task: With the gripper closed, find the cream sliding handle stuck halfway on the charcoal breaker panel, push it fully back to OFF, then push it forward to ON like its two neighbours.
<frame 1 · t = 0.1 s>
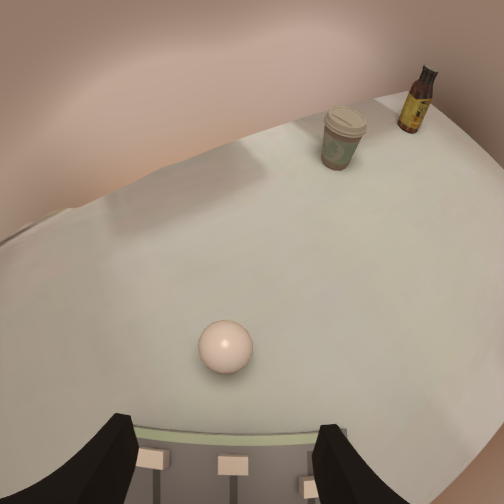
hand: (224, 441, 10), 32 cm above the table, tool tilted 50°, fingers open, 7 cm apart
coffee cup: (334, 161, 65), on the table
breaker panel: (233, 484, 34), on the table
sauce bottle: (407, 127, 76), on the table
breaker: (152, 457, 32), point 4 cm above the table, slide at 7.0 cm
lightbulb: (227, 361, 43), on the table
breaker middle: (233, 464, 32), point 4 cm above the table, slide at 7.0 cm
tripped breaker: (314, 486, 31), point 4 cm above the table, slide at 3.5 cm
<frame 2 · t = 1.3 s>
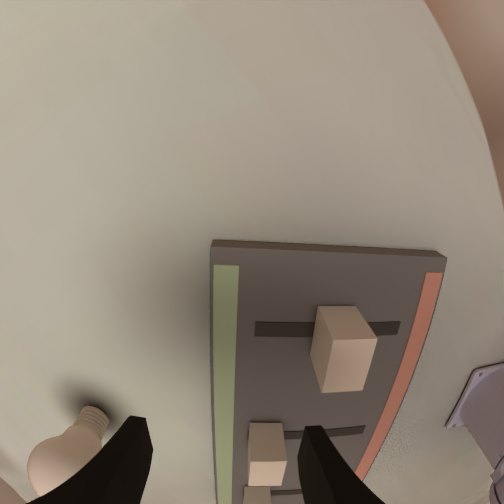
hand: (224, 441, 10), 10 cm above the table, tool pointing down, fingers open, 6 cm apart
breaker panel: (305, 421, 24), on the table
lightbulb: (98, 410, 23), on the table
breaker middle: (265, 455, 20), point 4 cm above the table, slide at 7.0 cm
tripped breaker: (340, 347, 17), point 4 cm above the table, slide at 3.5 cm
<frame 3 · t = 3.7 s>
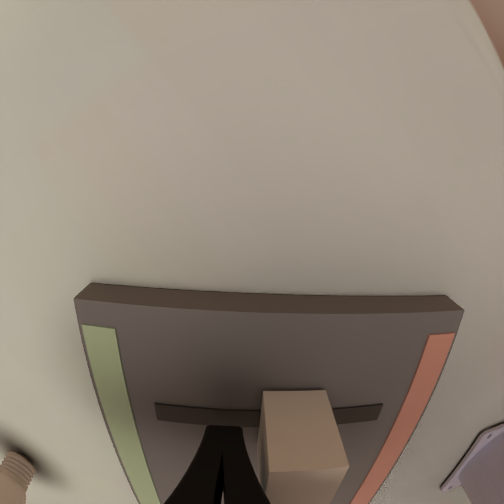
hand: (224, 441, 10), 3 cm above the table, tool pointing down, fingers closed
breaker panel: (255, 497, 16), on the table
lightbulb: (25, 455, 16), on the table
tripped breaker: (294, 455, 10), point 4 cm above the table, slide at 2.8 cm, touching gripper
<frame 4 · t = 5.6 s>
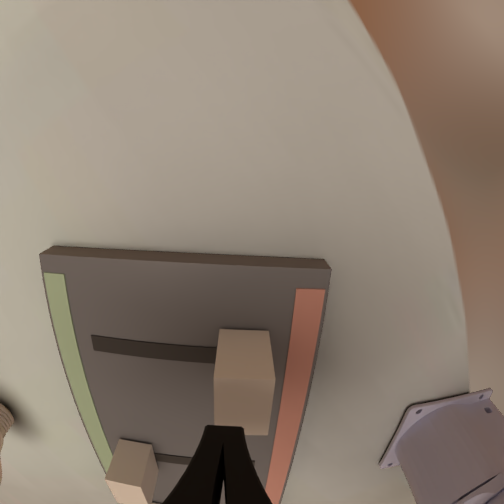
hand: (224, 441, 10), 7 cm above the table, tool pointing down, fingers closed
breaker panel: (189, 445, 20), on the table
lightbulb: (7, 407, 20), on the table
breaker middle: (134, 475, 17), point 4 cm above the table, slide at 7.0 cm
tripped breaker: (242, 381, 14), point 4 cm above the table, slide at -0.1 cm
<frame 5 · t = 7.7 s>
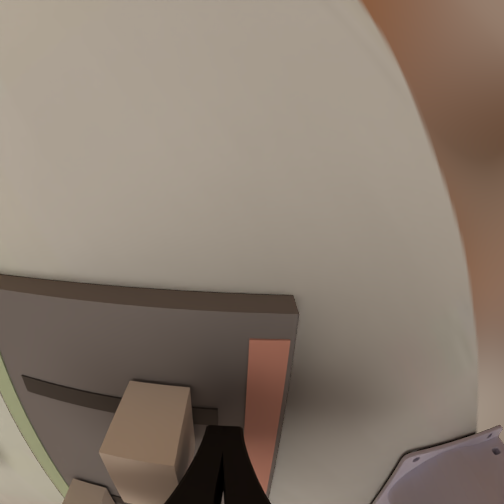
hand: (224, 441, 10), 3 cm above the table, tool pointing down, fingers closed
breaker panel: (150, 488, 16), on the table
tripped breaker: (155, 448, 10), point 4 cm above the table, slide at 0.9 cm, touching gripper
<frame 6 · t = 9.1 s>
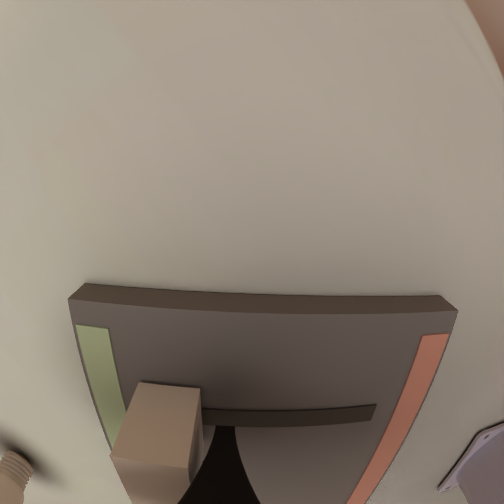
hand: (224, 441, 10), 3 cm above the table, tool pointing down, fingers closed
breaker panel: (251, 496, 16), on the table
lightbulb: (23, 455, 16), on the table
tripped breaker: (165, 450, 10), point 4 cm above the table, slide at 7.3 cm, touching gripper
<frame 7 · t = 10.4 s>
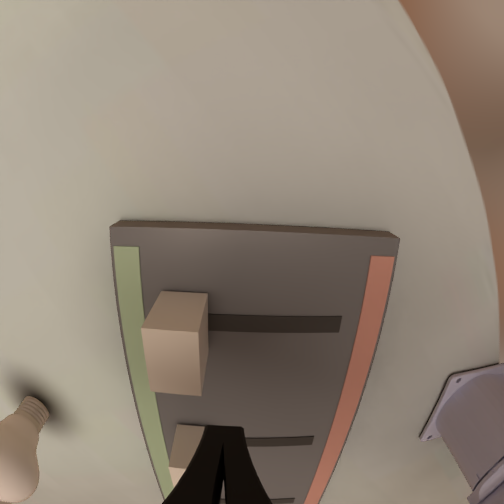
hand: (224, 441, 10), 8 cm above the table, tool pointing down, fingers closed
breaker panel: (245, 426, 21), on the table
lightbulb: (40, 401, 21), on the table
breaker middle: (193, 461, 18), point 4 cm above the table, slide at 7.0 cm
tripped breaker: (179, 341, 15), point 4 cm above the table, slide at 7.1 cm
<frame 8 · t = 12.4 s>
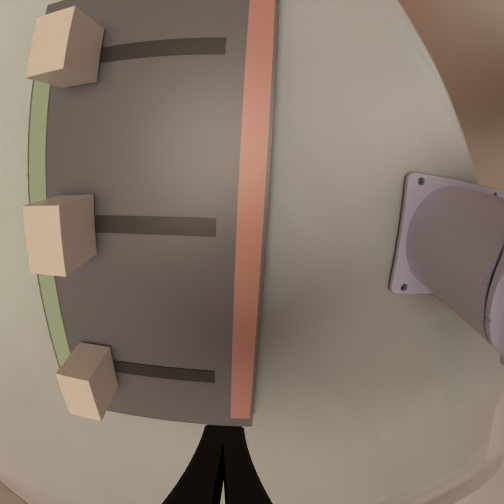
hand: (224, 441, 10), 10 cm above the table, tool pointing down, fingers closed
breaker panel: (139, 219, 18), on the table
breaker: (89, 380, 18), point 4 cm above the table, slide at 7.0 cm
breaker middle: (61, 231, 15), point 4 cm above the table, slide at 7.0 cm
tripped breaker: (67, 49, 12), point 4 cm above the table, slide at 7.1 cm
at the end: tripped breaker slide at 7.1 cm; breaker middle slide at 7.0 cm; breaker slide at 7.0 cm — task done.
